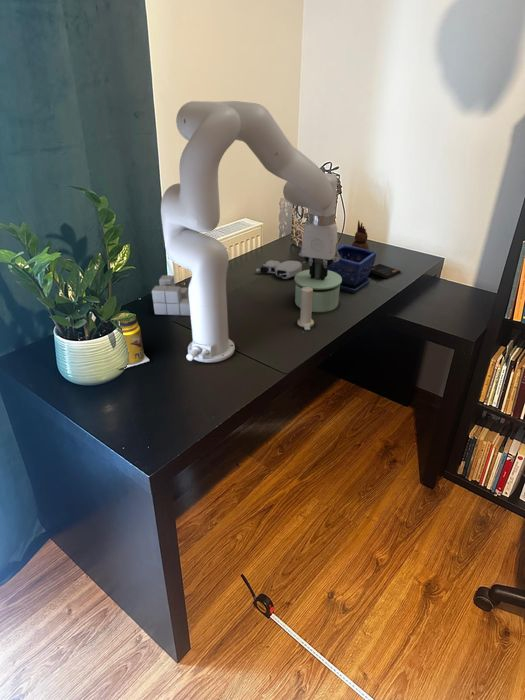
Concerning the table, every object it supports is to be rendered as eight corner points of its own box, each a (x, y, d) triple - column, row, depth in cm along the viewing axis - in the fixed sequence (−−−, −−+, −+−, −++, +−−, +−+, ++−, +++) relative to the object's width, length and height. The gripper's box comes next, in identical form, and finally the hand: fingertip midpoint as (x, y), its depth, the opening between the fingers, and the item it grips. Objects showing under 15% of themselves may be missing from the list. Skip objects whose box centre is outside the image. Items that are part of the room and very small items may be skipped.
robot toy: (254, 278, 177) (291, 284, 170) (253, 266, 175) (290, 271, 168) (271, 267, 186) (307, 272, 179) (270, 255, 184) (307, 260, 177)
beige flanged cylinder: (315, 332, 142) (318, 295, 136) (299, 332, 142) (300, 296, 136) (311, 317, 150) (313, 282, 144) (295, 317, 149) (296, 282, 143)
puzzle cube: (193, 315, 151) (190, 292, 147) (154, 314, 152) (151, 290, 148) (200, 298, 161) (199, 276, 157) (164, 297, 162) (162, 275, 158)
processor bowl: (331, 316, 150) (333, 295, 146) (289, 309, 155) (289, 288, 151) (343, 298, 161) (344, 278, 157) (302, 292, 165) (303, 272, 162)
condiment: (149, 360, 129) (144, 320, 123) (118, 371, 125) (110, 329, 119) (139, 348, 135) (133, 309, 128) (109, 358, 131) (101, 317, 124)
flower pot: (374, 284, 170) (378, 251, 164) (356, 297, 161) (359, 263, 155) (340, 275, 177) (343, 243, 171) (321, 287, 168) (323, 254, 162)
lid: (334, 294, 146) (336, 275, 142) (287, 287, 150) (288, 268, 147) (346, 276, 157) (348, 257, 154) (303, 269, 162) (303, 251, 159)
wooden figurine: (347, 258, 191) (351, 219, 184) (361, 256, 193) (365, 218, 185) (355, 264, 186) (359, 225, 178) (369, 262, 187) (374, 223, 180)
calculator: (400, 273, 179) (401, 265, 177) (380, 281, 172) (381, 273, 170) (379, 265, 185) (380, 258, 183) (359, 274, 178) (360, 266, 177)
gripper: (290, 219, 143) (289, 278, 153) (345, 225, 138) (340, 286, 147) (299, 212, 149) (297, 269, 159) (352, 218, 144) (346, 277, 153)
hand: (318, 277), depth 153 cm, fingers closed on lid, 2 cm apart
